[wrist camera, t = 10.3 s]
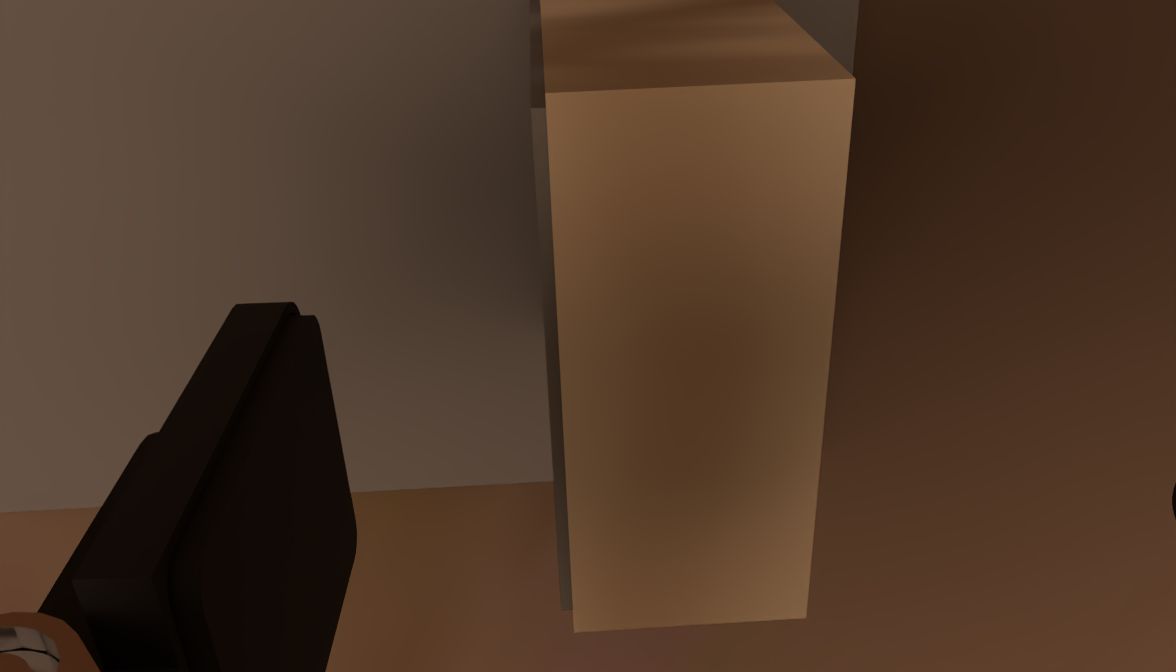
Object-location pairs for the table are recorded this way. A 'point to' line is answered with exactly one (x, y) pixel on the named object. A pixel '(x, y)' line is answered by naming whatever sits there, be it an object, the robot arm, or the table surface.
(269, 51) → the rubber mat
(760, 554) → the birch tile
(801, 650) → the table surface
